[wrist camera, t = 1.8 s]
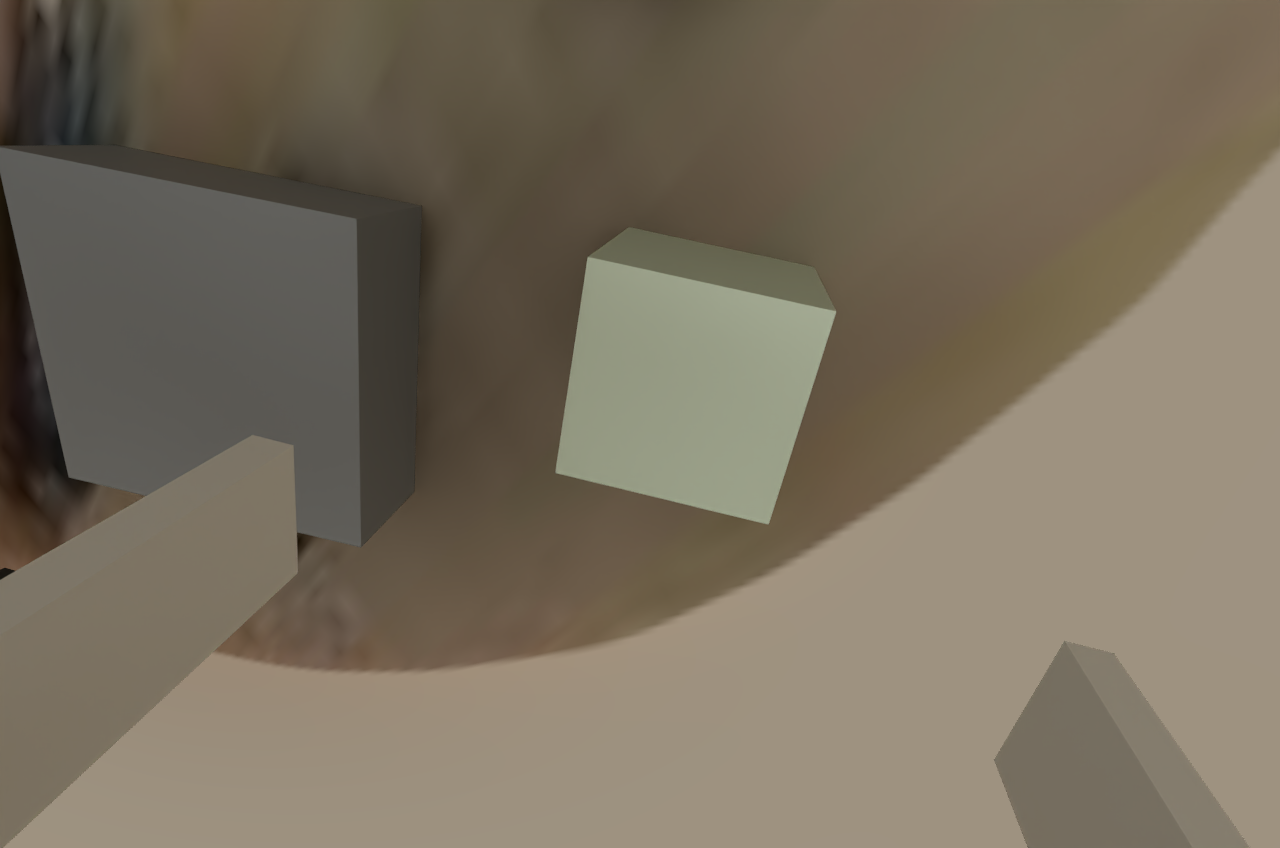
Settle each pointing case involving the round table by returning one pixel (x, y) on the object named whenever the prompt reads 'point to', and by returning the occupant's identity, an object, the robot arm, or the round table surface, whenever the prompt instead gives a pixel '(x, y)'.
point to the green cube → (692, 371)
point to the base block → (222, 323)
